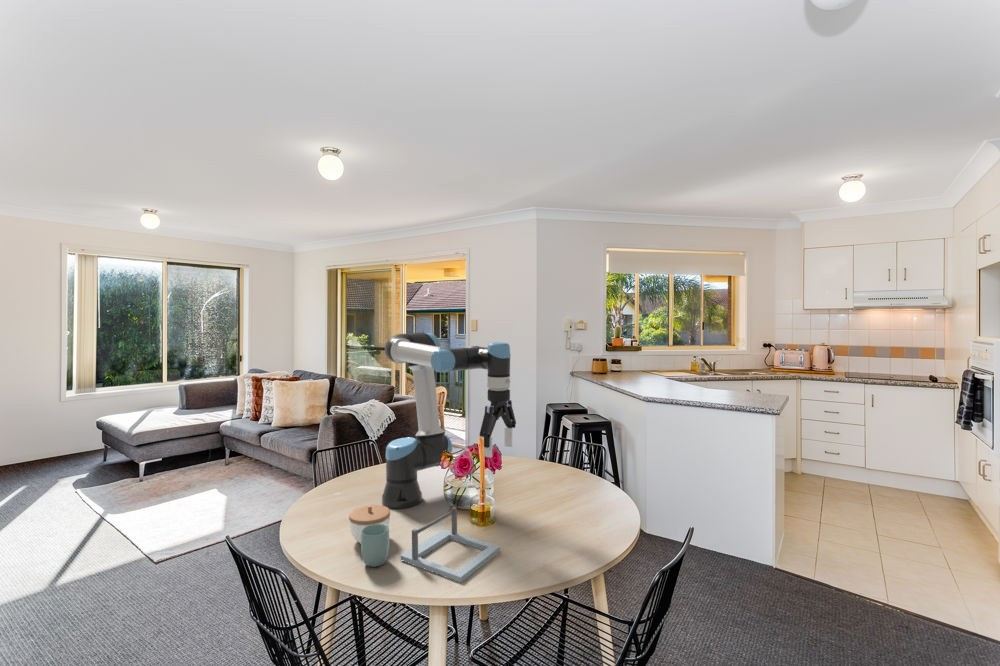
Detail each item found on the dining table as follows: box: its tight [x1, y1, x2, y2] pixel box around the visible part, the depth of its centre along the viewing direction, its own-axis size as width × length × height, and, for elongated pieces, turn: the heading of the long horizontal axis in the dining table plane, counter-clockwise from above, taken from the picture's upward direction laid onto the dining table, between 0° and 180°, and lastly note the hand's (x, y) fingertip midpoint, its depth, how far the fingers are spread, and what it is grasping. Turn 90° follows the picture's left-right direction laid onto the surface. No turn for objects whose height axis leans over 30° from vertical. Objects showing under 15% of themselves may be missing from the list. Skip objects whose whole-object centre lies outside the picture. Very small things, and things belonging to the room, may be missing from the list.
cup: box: [360, 524, 390, 568], centre depth 140 cm, size 8×8×10 cm
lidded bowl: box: [348, 504, 391, 545], centre depth 154 cm, size 13×13×11 cm
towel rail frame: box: [399, 506, 501, 583], centre depth 144 cm, size 22×20×10 cm
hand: (498, 451), depth 163 cm, fingers open, 13 cm apart
